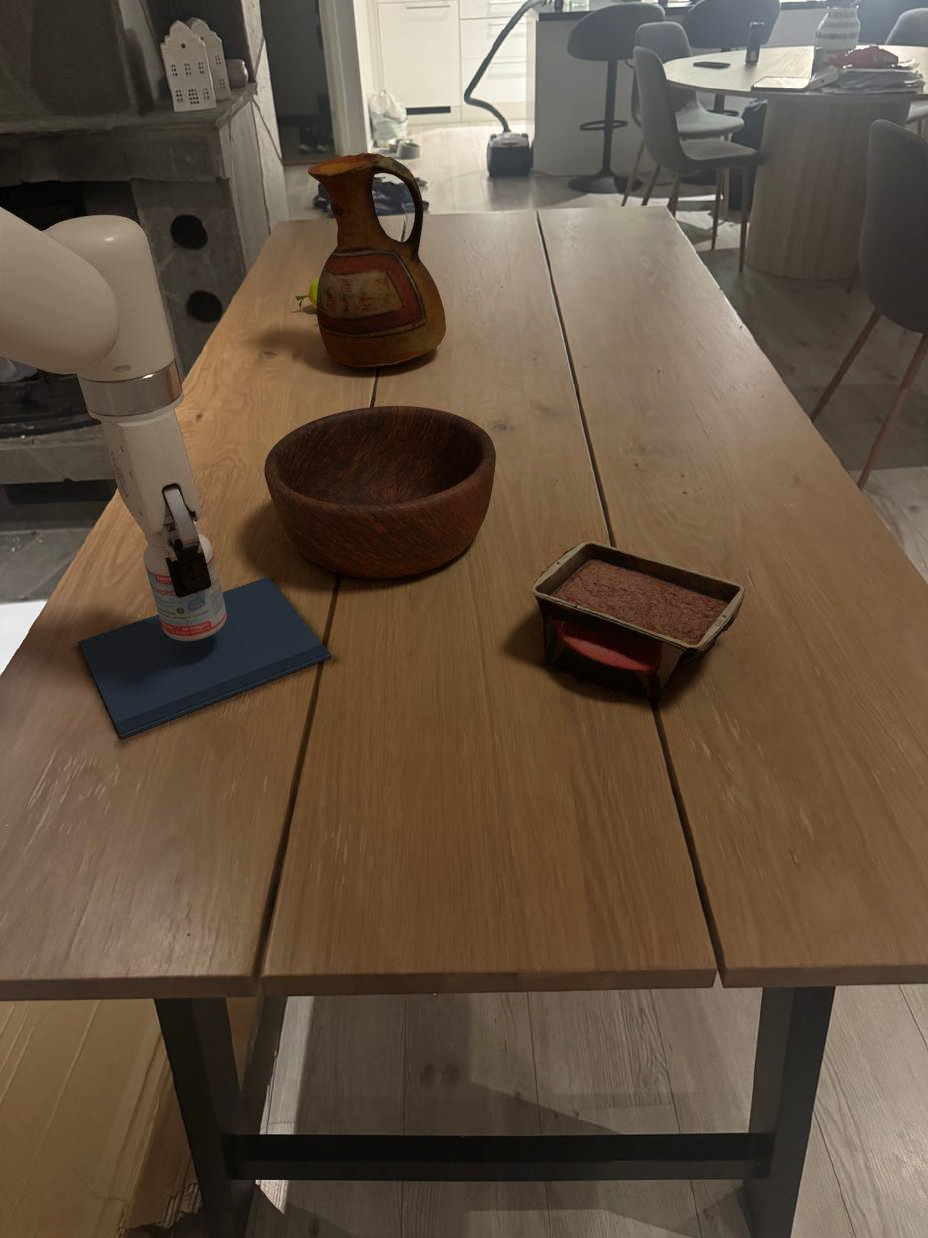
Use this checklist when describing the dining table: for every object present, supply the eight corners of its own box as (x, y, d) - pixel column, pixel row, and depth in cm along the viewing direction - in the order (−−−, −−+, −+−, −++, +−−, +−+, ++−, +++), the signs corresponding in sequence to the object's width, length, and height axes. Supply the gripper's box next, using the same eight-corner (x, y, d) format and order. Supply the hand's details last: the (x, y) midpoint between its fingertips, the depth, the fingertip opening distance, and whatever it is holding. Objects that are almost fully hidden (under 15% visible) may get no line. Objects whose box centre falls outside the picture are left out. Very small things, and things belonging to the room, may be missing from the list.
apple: (341, 266, 166) (291, 271, 164) (347, 298, 164) (297, 303, 163) (341, 289, 173) (293, 294, 171) (347, 319, 171) (298, 324, 170)
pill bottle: (154, 643, 86) (123, 540, 79) (175, 604, 91) (147, 504, 84) (218, 644, 85) (192, 540, 78) (236, 605, 90) (212, 504, 83)
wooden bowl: (338, 470, 119) (328, 394, 113) (524, 496, 112) (524, 417, 105) (236, 574, 100) (217, 490, 94) (452, 614, 93) (447, 526, 87)
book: (121, 739, 80) (120, 735, 80) (79, 644, 91) (77, 640, 91) (331, 657, 88) (330, 653, 88) (268, 579, 99) (268, 575, 99)
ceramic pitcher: (324, 339, 157) (298, 144, 139) (442, 331, 158) (431, 136, 140) (321, 384, 142) (292, 171, 124) (452, 375, 143) (442, 162, 125)
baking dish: (602, 602, 97) (590, 519, 92) (765, 643, 86) (762, 552, 81) (522, 682, 89) (503, 597, 83) (690, 739, 78) (681, 645, 72)
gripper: (60, 363, 78) (116, 544, 89) (112, 437, 66) (170, 636, 77) (148, 344, 81) (192, 521, 92) (213, 411, 69) (255, 606, 80)
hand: (181, 572), depth 84 cm, fingers closed on pill bottle, 6 cm apart
